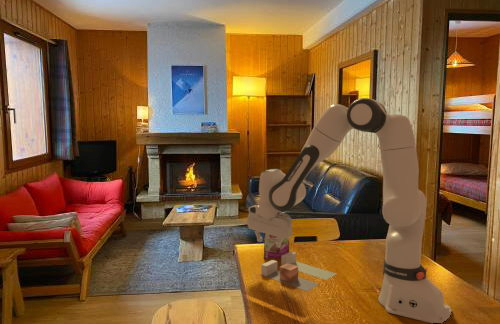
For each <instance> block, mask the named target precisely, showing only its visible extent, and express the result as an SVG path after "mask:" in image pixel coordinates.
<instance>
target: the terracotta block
mask: <svg viewBox="0 0 500 324" xmlns="http://www.w3.org/2000/svg"><path fill="white" fill-rule="evenodd" d="M279 271H280V280H283V281H285V282H288V283H292V282H294V281H295V280H297V279H298V277H299V271H298V266H295V265H292V264H289V263H287V264H285V265H283V266H279Z"/></svg>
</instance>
